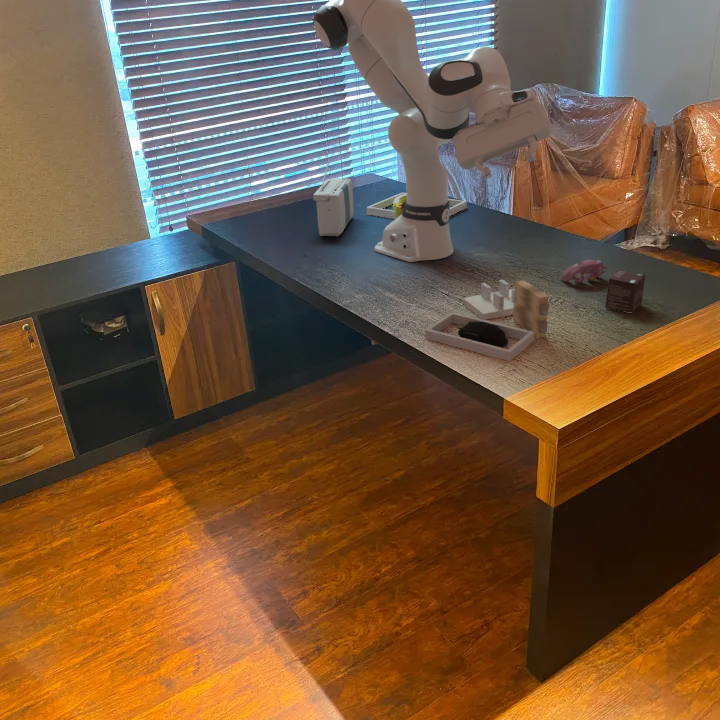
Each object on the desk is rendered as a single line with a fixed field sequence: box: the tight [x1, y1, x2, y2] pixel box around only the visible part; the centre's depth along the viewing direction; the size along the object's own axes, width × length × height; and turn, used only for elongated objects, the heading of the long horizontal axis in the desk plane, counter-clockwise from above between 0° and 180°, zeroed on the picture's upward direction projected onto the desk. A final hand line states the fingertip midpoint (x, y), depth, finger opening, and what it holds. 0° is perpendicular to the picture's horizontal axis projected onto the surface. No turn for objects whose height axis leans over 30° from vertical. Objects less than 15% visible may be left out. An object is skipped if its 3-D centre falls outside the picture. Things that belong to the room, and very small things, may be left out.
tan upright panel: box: [512, 279, 550, 339], centre depth 148 cm, size 11×2×9 cm, turn 18°
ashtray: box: [392, 194, 407, 218], centre depth 232 cm, size 16×21×5 cm
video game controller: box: [560, 259, 608, 284], centre depth 171 cm, size 10×5×7 cm, turn 106°
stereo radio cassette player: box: [312, 156, 355, 238], centre depth 218 cm, size 21×8×20 cm, turn 170°
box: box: [604, 269, 646, 313], centre depth 156 cm, size 6×6×7 cm
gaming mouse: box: [455, 321, 509, 348], centre depth 148 cm, size 6×15×4 cm, turn 37°
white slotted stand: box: [462, 279, 515, 321], centre depth 160 cm, size 10×14×4 cm
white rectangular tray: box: [366, 192, 468, 220], centre depth 232 cm, size 26×21×2 cm
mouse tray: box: [424, 311, 535, 362], centre depth 146 cm, size 20×11×2 cm, turn 52°
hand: (509, 168), depth 146 cm, fingers open, 8 cm apart
